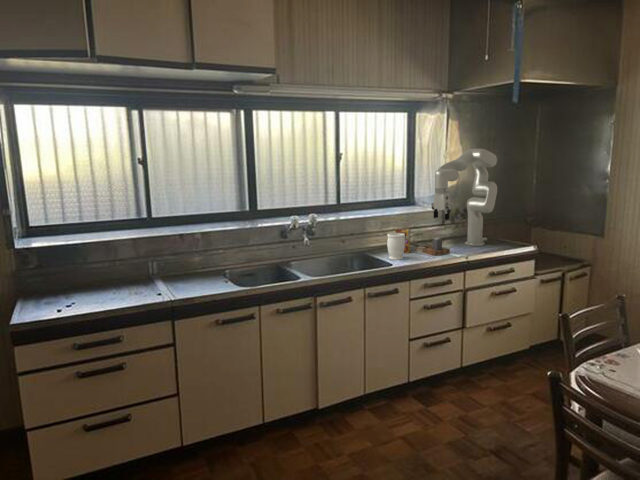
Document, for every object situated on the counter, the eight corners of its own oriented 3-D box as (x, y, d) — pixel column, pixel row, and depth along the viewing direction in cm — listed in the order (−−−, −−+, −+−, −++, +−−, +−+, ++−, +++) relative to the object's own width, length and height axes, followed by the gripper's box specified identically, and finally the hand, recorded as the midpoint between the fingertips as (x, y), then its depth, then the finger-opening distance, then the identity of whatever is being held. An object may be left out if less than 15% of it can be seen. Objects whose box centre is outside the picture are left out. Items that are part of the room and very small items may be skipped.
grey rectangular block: (437, 254, 303) (437, 237, 301) (441, 255, 299) (442, 238, 297) (432, 254, 301) (432, 238, 299) (436, 256, 297) (437, 239, 295)
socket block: (429, 249, 314) (429, 244, 314) (449, 255, 299) (449, 248, 298) (414, 252, 309) (415, 246, 308) (434, 257, 293) (434, 251, 292)
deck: (442, 248, 318) (442, 246, 318) (451, 250, 312) (451, 248, 311) (433, 249, 315) (433, 248, 314) (441, 251, 308) (441, 250, 308)
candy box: (394, 252, 311) (394, 228, 308) (397, 251, 314) (397, 227, 311) (408, 253, 306) (408, 229, 303) (410, 252, 310) (410, 228, 307)
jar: (393, 255, 301) (393, 231, 298) (407, 257, 295) (408, 233, 292) (383, 259, 293) (383, 234, 290) (398, 261, 287) (399, 236, 284)
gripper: (456, 191, 290) (456, 219, 293) (436, 189, 304) (436, 216, 308) (446, 192, 286) (446, 221, 290) (426, 190, 301) (427, 217, 304)
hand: (441, 218), depth 299 cm, fingers open, 9 cm apart
